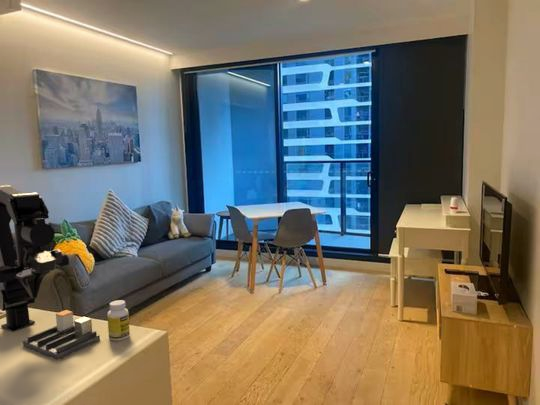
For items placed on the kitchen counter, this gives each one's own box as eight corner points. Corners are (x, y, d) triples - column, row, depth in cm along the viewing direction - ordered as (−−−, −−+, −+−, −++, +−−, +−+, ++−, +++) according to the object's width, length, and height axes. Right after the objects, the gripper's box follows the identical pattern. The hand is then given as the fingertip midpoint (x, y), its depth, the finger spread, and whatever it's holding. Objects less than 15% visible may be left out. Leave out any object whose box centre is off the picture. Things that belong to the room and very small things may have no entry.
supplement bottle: (123, 342, 109) (120, 306, 108) (104, 340, 111) (102, 305, 109) (133, 333, 115) (131, 299, 113) (116, 331, 116) (113, 298, 115)
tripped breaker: (57, 330, 113) (55, 313, 113) (67, 326, 116) (65, 309, 115) (64, 332, 112) (62, 315, 111) (74, 328, 114) (72, 311, 114)
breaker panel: (23, 346, 108) (20, 324, 107) (65, 329, 118) (63, 308, 117) (57, 360, 100) (55, 336, 100) (99, 340, 111) (98, 318, 110)
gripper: (8, 252, 96) (14, 316, 98) (79, 236, 112) (84, 292, 114) (-17, 247, 101) (-10, 307, 103) (55, 233, 117) (59, 286, 119)
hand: (34, 298), depth 110 cm, fingers closed
